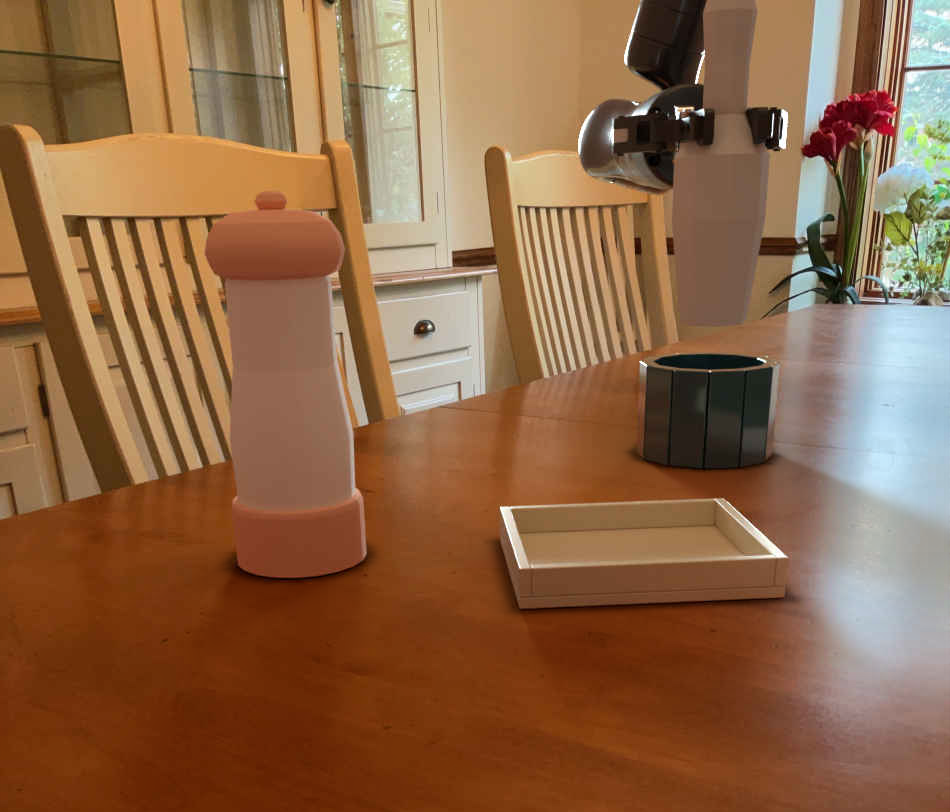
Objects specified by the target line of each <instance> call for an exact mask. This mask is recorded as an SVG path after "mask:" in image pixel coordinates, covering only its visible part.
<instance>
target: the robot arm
mask: <svg viewBox="0 0 950 812" xmlns="http://www.w3.org/2000/svg"><path fill="white" fill-rule="evenodd" d="M706 2H707V0H640V1H639V5H638V8H637V11H636V15H635V18H634V21H633V25H632V28H631V32H630V35H629V38H628V41H627V44H626V49H625V53H624V64H625V66H626V68H627V70H628V71H629V72H631V74H633V75H635V76H636V77H637V78H640V79H641V80H643V81H645V82H646V83H649V84H651V85H652V86H653V87H655V88H656V89H658V90H659V92H657V93H653V95H650V96H649V97H648V98H646V99H644V100H643V101H636V100H629V99H622V98H609V99H606V100H604V101H601V102H600V103H599V104H598V105H597V106H595V107H594V108H593V110H592V111H591V112H590V113H589V115H588V116H587V118H586V119H585V121H584V123H583V125H582V127H581V130H580V134H579V138H578V149H577V150H578V158H579V162H580V165H581V167H582V169H583V171H584V172H585V173H586V175H588V176H589V177H591V178H593V179H595V180H597V181H601V182H604V183H608V184H612V185H616V186H619V187H622V188H626V189H630V190H634V191H637V192H641V193H644V194H648V195H651V196H663V195H665V194H667V193H669V192H671V191H673V180H674V157H675V156H676V154H677V153H678V151H679V150H680V148H681V147H682V146H683V144H684V143H685V141H689V140H696V142H697V145H698V146H702V145H712V143H713V139H714V122H715V110H714V109H703V92H704V83H700V82H699V83H698V79H699V74H700V70H701V66H702V64H703V61H704V58H705V56H704V30H703V12H704V8H705V5H706ZM746 116H747V119H748V122H749V125H750V129H751V132H752V139H753V144H764V145H765V147H766V149H767V150H770V151H771V150H772V151H773V152H781V150H785V149H786V139H787V127H788V125H787V124H788V116H789V115H788V112H787V111H785V110H784V109H782V108H778V107H777V106H772V107H768V106H750V107H749V106H747V110H746Z"/></svg>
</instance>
